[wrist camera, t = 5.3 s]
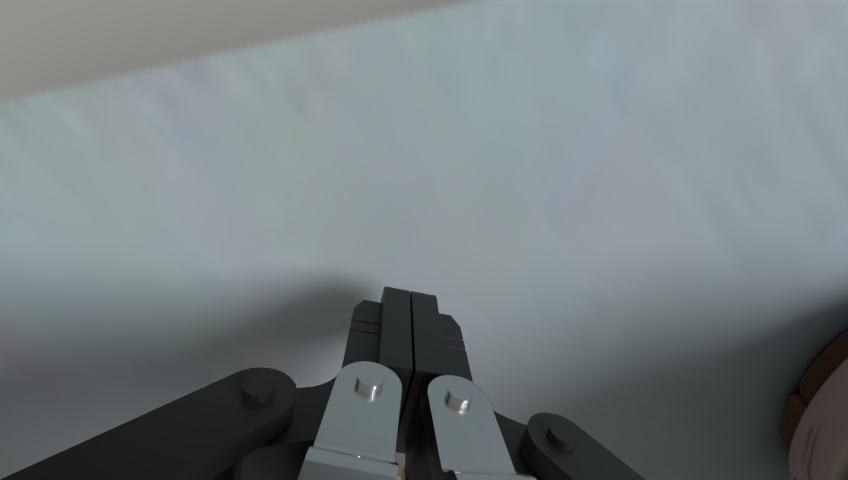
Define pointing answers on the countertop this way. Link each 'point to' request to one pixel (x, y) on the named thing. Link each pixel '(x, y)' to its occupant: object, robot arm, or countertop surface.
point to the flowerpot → (820, 418)
